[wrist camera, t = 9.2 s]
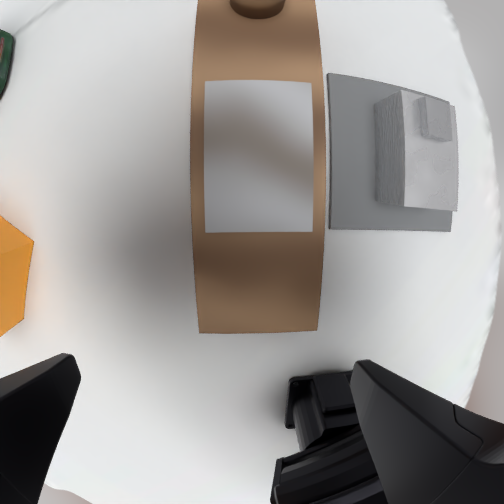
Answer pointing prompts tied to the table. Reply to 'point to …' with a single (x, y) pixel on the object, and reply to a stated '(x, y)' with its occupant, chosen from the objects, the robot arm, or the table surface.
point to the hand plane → (257, 166)
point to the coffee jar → (4, 56)
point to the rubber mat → (365, 162)
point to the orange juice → (13, 274)
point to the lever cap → (416, 152)
